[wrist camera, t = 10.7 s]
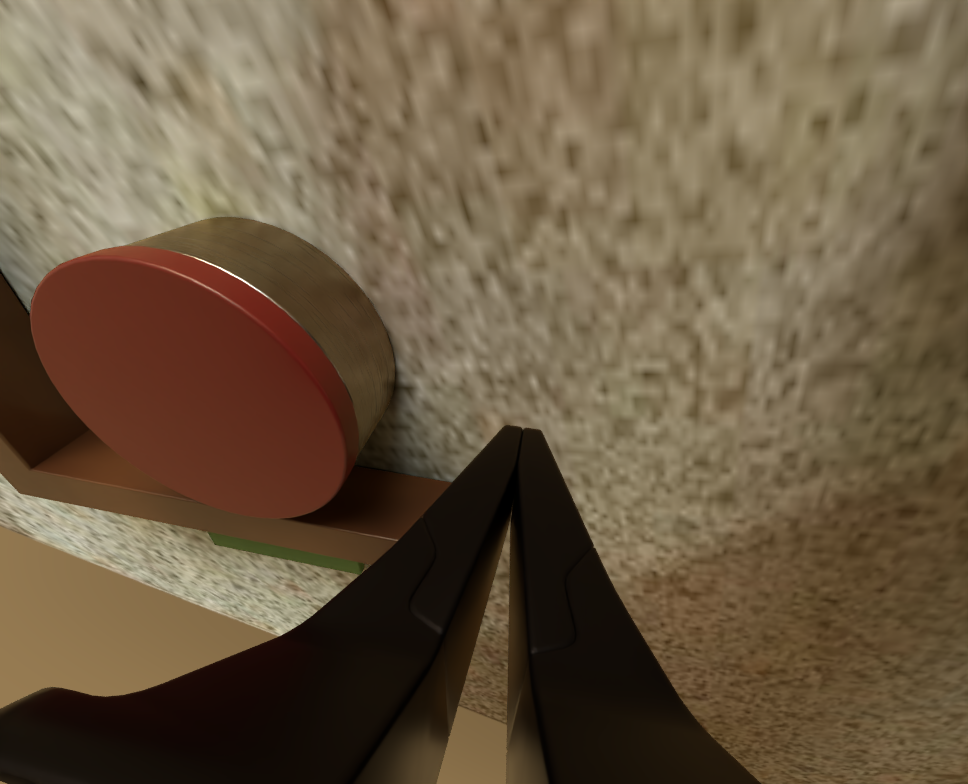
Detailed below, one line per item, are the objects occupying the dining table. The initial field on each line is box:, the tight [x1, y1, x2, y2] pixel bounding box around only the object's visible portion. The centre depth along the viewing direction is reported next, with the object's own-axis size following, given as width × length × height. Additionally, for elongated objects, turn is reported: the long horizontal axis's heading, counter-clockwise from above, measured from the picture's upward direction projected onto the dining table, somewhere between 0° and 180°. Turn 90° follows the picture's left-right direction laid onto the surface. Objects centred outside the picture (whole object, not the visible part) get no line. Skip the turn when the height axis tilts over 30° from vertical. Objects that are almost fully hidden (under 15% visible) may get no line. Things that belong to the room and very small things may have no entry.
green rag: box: [208, 532, 364, 575], centre depth 17 cm, size 7×4×1 cm, turn 88°
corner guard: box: [0, 274, 451, 565], centre depth 10 cm, size 16×17×2 cm
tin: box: [30, 217, 395, 519], centre depth 10 cm, size 7×7×3 cm
